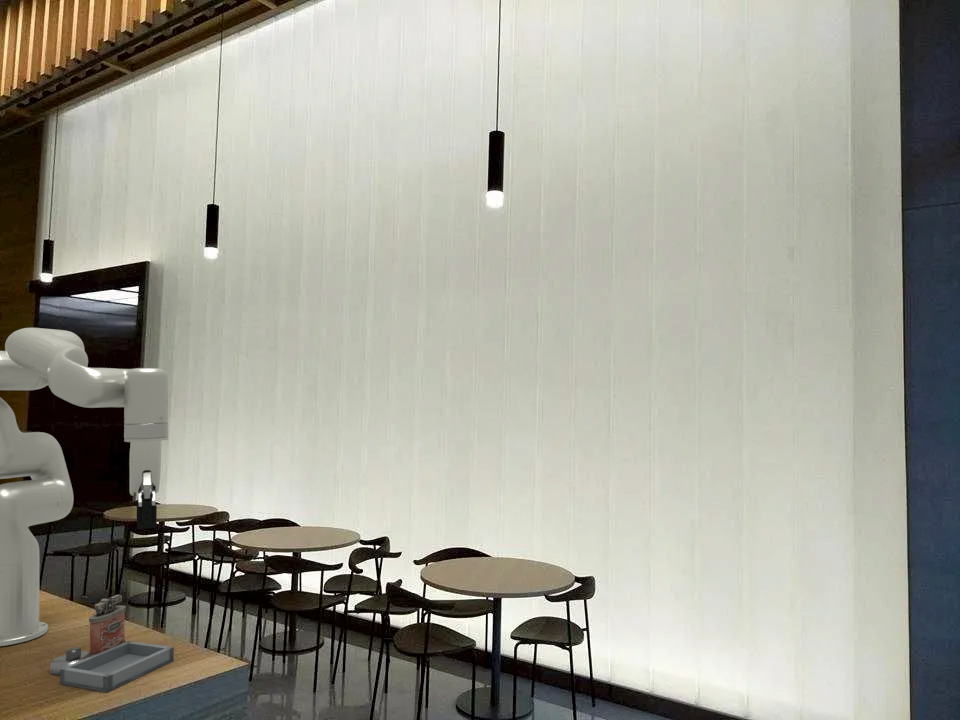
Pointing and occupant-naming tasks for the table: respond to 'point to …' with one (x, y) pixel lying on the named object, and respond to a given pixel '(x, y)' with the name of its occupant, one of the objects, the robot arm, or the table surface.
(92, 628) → the lighter
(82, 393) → the robot arm
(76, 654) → the pot lid
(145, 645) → the tray
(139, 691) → the table surface
